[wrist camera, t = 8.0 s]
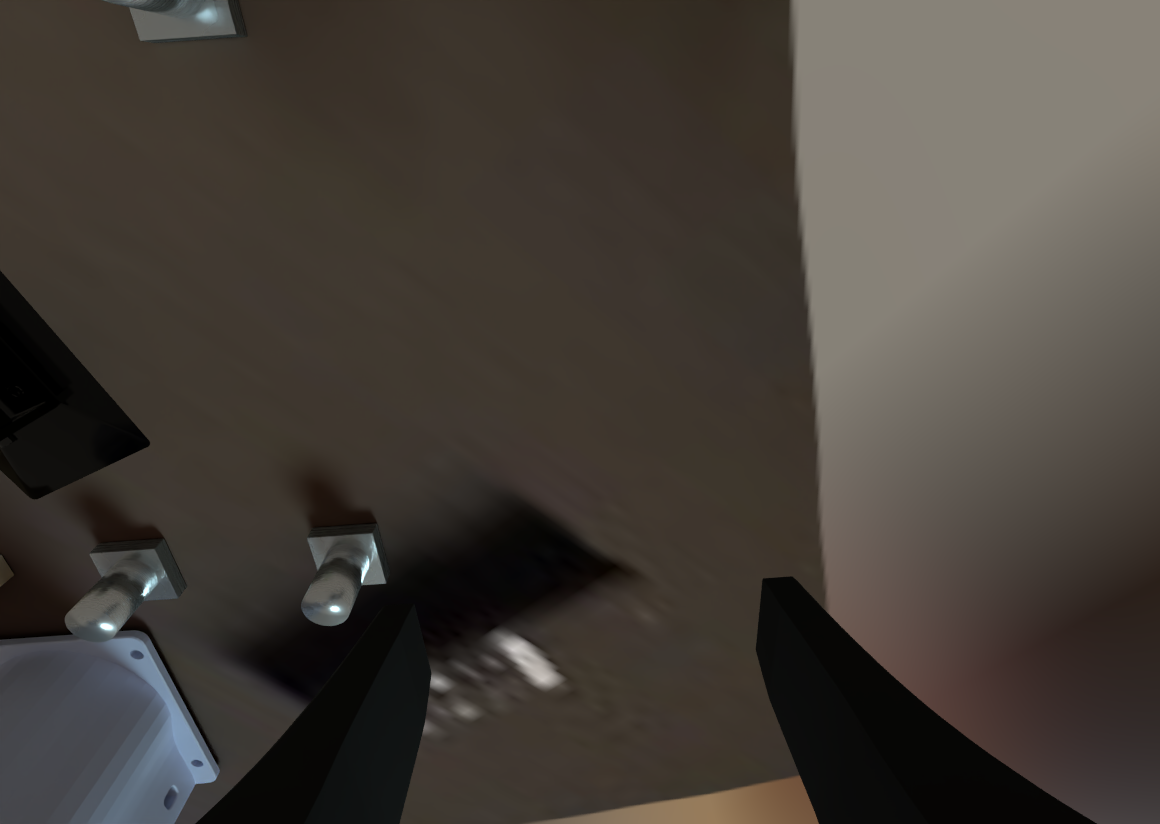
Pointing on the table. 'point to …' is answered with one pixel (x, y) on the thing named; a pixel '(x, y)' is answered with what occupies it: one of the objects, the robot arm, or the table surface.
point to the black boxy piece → (52, 406)
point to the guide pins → (146, 567)
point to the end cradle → (4, 571)
